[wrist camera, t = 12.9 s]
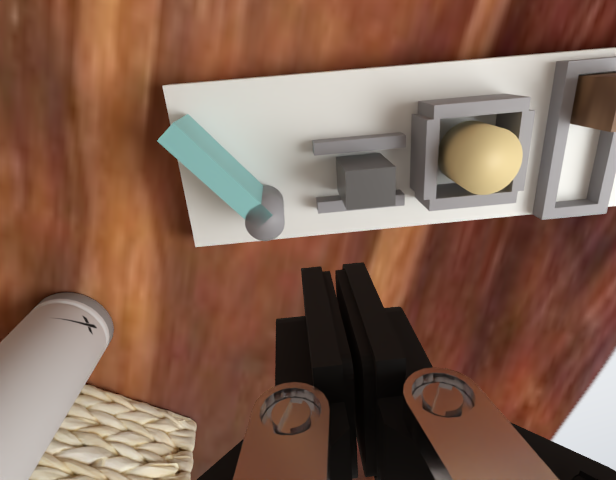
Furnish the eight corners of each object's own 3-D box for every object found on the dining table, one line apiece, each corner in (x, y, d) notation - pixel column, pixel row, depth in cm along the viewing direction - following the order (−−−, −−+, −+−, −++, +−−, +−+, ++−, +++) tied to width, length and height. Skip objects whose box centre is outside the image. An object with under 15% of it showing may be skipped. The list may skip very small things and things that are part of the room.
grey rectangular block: (380, 187, 28) (395, 205, 25) (337, 191, 28) (346, 210, 25) (379, 152, 27) (396, 166, 24) (335, 156, 27) (345, 171, 24)
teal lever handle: (290, 202, 28) (293, 222, 25) (266, 224, 29) (265, 248, 25) (193, 108, 25) (179, 115, 22) (168, 135, 26) (151, 147, 22)
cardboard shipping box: (600, 119, 28) (650, 128, 24) (566, 123, 28) (610, 132, 24) (610, 72, 26) (664, 73, 23) (574, 75, 26) (622, 77, 23)
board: (613, 196, 33) (689, 225, 27) (200, 236, 31) (182, 276, 25) (650, 44, 28) (750, 39, 22) (169, 84, 27) (140, 90, 21)
